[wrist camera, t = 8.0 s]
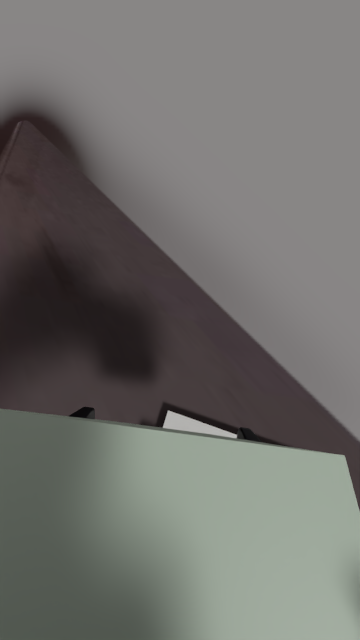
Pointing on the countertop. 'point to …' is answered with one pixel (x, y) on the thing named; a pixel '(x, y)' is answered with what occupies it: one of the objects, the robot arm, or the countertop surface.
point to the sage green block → (171, 535)
